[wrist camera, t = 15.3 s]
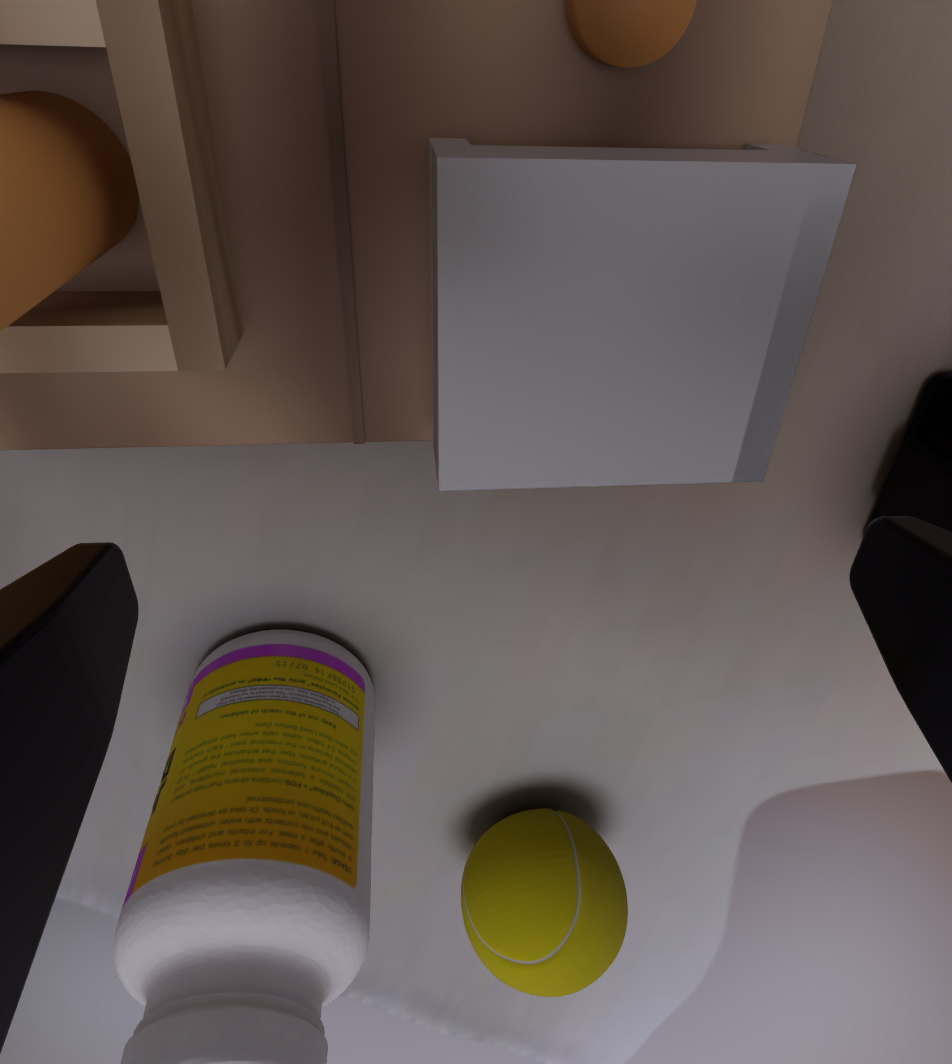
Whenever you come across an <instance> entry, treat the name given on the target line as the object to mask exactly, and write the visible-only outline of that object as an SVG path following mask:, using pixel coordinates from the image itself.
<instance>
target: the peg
mask: <svg viewBox="0 0 952 1064" xmlns="http://www.w3.org/2000/svg"><path fill="white" fill-rule="evenodd" d="M138 202H139V193H138V189H137V185H136V180H135V176H134V171H133V167H132V163H131V161H130V158H129V156H128V154H127V152H126V151H125V149H124V147H123V145H122V144H121V142H120V141H119V139H118V138H117V137H116V135H115V134H114V133H113V132H112V131H111V129H110V128H109V127H108V126H107V125H106V124H105V123H104V122H103V121H102V120H101V119H100V118H99V117H97V116H96V115H95V114H94V113H92V112H91V111H90V110H88V109H87V108H85V107H84V106H82V105H81V104H79V103H77V102H75V101H73V100H71V99H69V98H66V97H64V96H61V95H58V94H55V93H50V92H46V91H36V90H35V91H21V92H14V93H8V94H1V95H0V332H1V331H2V330H3V329H5V328H6V327H7V326H9V325H10V324H11V323H13V322H14V321H15V320H17V319H18V318H19V317H21V316H22V315H23V314H25V313H26V312H27V311H29V310H30V309H31V308H33V307H34V306H35V305H37V304H38V303H39V302H41V301H42V300H43V299H45V298H46V297H47V296H49V295H50V294H51V293H53V292H54V291H55V290H57V289H58V288H59V287H61V286H62V285H63V284H65V283H66V282H67V281H69V280H70V279H71V278H73V277H74V276H75V275H77V274H78V273H79V272H81V271H82V270H83V269H85V268H86V267H87V266H89V265H90V264H91V263H93V262H94V261H95V260H97V259H98V258H99V257H101V256H102V255H103V254H105V253H106V252H107V251H109V250H110V249H112V248H113V247H114V246H115V245H117V244H118V243H119V242H121V241H122V240H123V239H124V237H125V236H126V235H127V234H128V232H129V231H130V229H131V228H132V226H133V223H134V221H135V218H136V215H137V211H138Z"/></svg>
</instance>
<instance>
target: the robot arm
mask: <svg viewBox="0 0 952 1064" xmlns="http://www.w3.org/2000/svg"><path fill="white" fill-rule="evenodd" d="M946 386H948V388H947V389H946V391H945V392H943V393H942V394H940V393H941V391H942V390H943V389H944V388H945V387H946ZM850 585H851V589H852V591H853V594H854V596H855V598H856V600H857V602H858V605H859V607H860V609H861V611H862V613H863V616H864V618H865V620H866V622H867V624H868V627H869V629H870V631H871V633H872V635H873V638H874V640H875V642H876V644H877V646H878V649H879V651H880V653H881V655H882V658H883V660H884V662H885V664H886V666H887V669H888V671H889V673H890V675H891V677H892V679H893V681H894V683H895V685H896V687H897V689H898V691H899V693H900V695H901V697H902V699H903V700H904V702H905V704H906V706H907V708H908V709H909V711H910V713H911V714H912V716H913V718H914V720H915V721H916V723H917V725H918V726H919V728H920V730H921V732H922V733H923V735H924V737H925V738H926V740H927V742H928V744H929V745H930V747H931V749H932V750H933V752H934V754H935V755H936V757H937V759H938V761H939V762H940V764H941V766H942V767H943V769H944V771H945V773H946V774H947V776H948V778H949V779H950V781H951V783H952V372H945V373H940V374H938V375H936V376H934V377H933V378H932V379H931V380H930V381H929V382H928V383H927V385H926V387H925V388H924V391H923V393H922V396H921V398H920V401H919V403H918V406H917V408H916V411H915V413H914V415H913V418H912V420H911V423H910V425H909V428H908V430H907V433H906V435H905V437H904V440H903V442H902V445H901V447H900V450H899V452H898V455H897V457H896V459H895V462H894V464H893V467H892V469H891V472H890V474H889V477H888V479H887V481H886V484H885V486H884V489H883V491H882V494H881V496H880V499H879V501H878V503H877V506H876V508H875V511H874V513H873V516H872V518H871V521H870V523H869V525H868V528H867V530H866V532H865V535H864V537H863V540H862V542H861V544H860V547H859V549H858V552H857V554H856V557H855V559H854V562H853V564H852V567H851V570H850ZM137 621H138V600H137V596H136V593H135V590H134V587H133V584H132V581H131V577H130V574H129V571H128V568H127V565H126V562H125V558H124V555H123V553H122V551H121V549H120V548H119V546H117V545H116V544H114V543H110V542H109V543H80V544H76V545H74V546H72V547H71V548H69V549H67V550H66V551H64V552H62V553H61V554H59V555H57V556H56V557H54V558H52V559H51V560H49V561H47V562H46V563H44V564H42V565H41V566H39V567H37V568H36V569H34V570H32V571H31V572H29V573H27V574H26V575H24V576H22V577H21V578H19V579H17V580H16V581H14V582H12V583H11V584H9V585H7V586H6V587H4V588H2V589H1V590H0V1053H1V1050H2V1047H3V1045H4V1042H5V1039H6V1036H7V1033H8V1030H9V1028H10V1024H11V1022H12V1019H13V1016H14V1013H15V1011H16V1008H17V1005H18V1002H19V999H20V996H21V993H22V990H23V988H24V985H25V982H26V979H27V976H28V974H29V971H30V968H31V965H32V962H33V959H34V957H35V953H36V951H37V948H38V945H39V942H40V940H41V937H42V934H43V931H44V928H45V925H46V922H47V920H48V917H49V914H50V911H51V908H52V906H53V903H54V900H55V897H56V894H57V891H58V889H59V886H60V883H61V880H62V877H63V874H64V872H65V869H66V866H67V863H68V860H69V857H70V855H71V852H72V849H73V846H74V843H75V840H76V838H77V835H78V832H79V829H80V826H81V823H82V821H83V818H84V815H85V812H86V809H87V806H88V804H89V801H90V798H91V795H92V792H93V789H94V787H95V784H96V781H97V778H98V775H99V772H100V770H101V767H102V764H103V761H104V758H105V755H106V752H107V749H108V746H109V743H110V740H111V737H112V733H113V729H114V725H115V721H116V717H117V712H118V708H119V703H120V699H121V694H122V690H123V685H124V680H125V676H126V671H127V667H128V662H129V658H130V653H131V648H132V644H133V639H134V635H135V630H136V626H137Z"/></svg>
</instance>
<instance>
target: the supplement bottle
mask: <svg viewBox="0 0 952 1064" xmlns="http://www.w3.org/2000/svg"><path fill="white" fill-rule="evenodd" d="M373 759H374V690H373V685H372V682H371V679H370V677H369V675H368V673H367V671H366V670H365V668H364V667H363V665H362V664H361V663H360V661H359V660H358V659H357V658H356V657H355V656H354V655H353V654H351V653H350V652H349V651H348V650H346V649H345V648H344V647H342V646H340V645H339V644H337V643H335V642H333V641H331V640H329V639H327V638H324V637H321V636H318V635H315V634H312V633H307V632H302V631H294V630H267V631H259V632H254V633H250V634H247V635H243V636H240V637H238V638H235V639H233V640H231V641H229V642H227V643H225V644H223V645H221V646H220V647H218V648H217V649H215V650H214V651H213V652H212V653H210V654H209V655H208V656H207V657H206V658H205V660H204V661H203V662H202V663H201V665H200V666H199V667H198V669H197V670H196V672H195V674H194V676H193V679H192V682H191V685H190V688H189V691H188V694H187V696H186V700H185V703H184V706H183V710H182V713H181V716H180V719H179V722H178V726H177V730H176V733H175V736H174V739H173V743H172V746H171V749H170V753H169V756H168V759H167V763H166V766H165V769H164V773H163V776H162V780H161V783H160V786H159V789H158V792H157V795H156V799H155V802H154V805H153V808H152V813H151V816H150V819H149V822H148V825H147V829H146V832H145V835H144V839H143V842H142V845H141V849H140V852H139V856H138V859H137V862H136V866H135V869H134V872H133V875H132V878H131V881H130V885H129V888H128V892H127V895H126V898H125V901H124V904H123V907H122V911H121V914H120V917H119V921H118V924H117V928H116V932H115V937H114V959H115V965H116V968H117V972H118V975H119V977H120V979H121V981H122V983H123V984H124V986H125V987H126V989H127V990H128V992H129V993H130V994H131V995H132V996H133V997H134V998H135V999H136V1000H137V1001H139V1002H140V1003H141V1004H142V1005H144V1006H145V1012H144V1017H143V1019H142V1020H141V1021H140V1023H139V1024H138V1026H137V1027H136V1029H135V1031H134V1034H133V1036H132V1037H131V1038H130V1039H129V1041H128V1042H127V1044H126V1045H125V1048H124V1052H123V1056H122V1060H121V1064H326V1062H327V1053H328V1052H327V1051H328V1044H327V1040H326V1038H325V1036H324V1026H323V1023H322V1021H321V1020H320V1017H321V1008H322V1007H324V1006H325V1005H327V1004H329V1003H330V1002H331V1001H333V1000H334V999H335V998H337V997H338V996H339V995H340V994H341V993H342V992H343V991H344V990H345V989H346V988H347V987H348V986H349V985H350V983H351V982H352V981H353V979H354V978H355V977H356V975H357V973H358V971H359V970H360V968H361V966H362V964H363V961H364V959H365V956H366V953H367V948H368V943H369V925H370V891H371V838H372V801H373Z"/></svg>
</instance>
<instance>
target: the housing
mask: <svg viewBox="0 0 952 1064" xmlns="http://www.w3.org/2000/svg"><path fill="white" fill-rule="evenodd" d="M856 165H857V164H855V163H851V162H847V161H843V160H839V159H835V158H831V157H828V156H824V155H820V154H816V153H812V152H808V151H805V150H801V149H797V148H793V147H789V146H785V145H781V144H747V147H746V150H725V149H669V148H613V147H556V146H500V145H471V144H470V143H469V142H468V140H467V139H466V138H429V168H430V268H431V368H432V434H433V443H434V452H435V461H436V470H437V479H438V488H439V491H453V490H487V489H520V488H554V487H588V486H621V485H655V484H688V483H722V482H755V481H763V480H764V477H765V473H766V470H767V466H768V463H769V460H770V456H771V453H772V449H773V446H774V443H775V439H776V436H777V432H778V429H779V426H780V422H781V419H782V415H783V412H784V409H785V405H786V402H787V399H788V395H789V392H790V388H791V385H792V382H793V378H794V375H795V371H796V368H797V365H798V361H799V358H800V354H801V351H802V348H803V344H804V341H805V337H806V334H807V331H808V327H809V324H810V321H811V317H812V314H813V310H814V307H815V304H816V300H817V297H818V293H819V290H820V287H821V283H822V280H823V276H824V273H825V270H826V266H827V263H828V259H829V256H830V253H831V249H832V246H833V243H834V239H835V236H836V232H837V229H838V226H839V222H840V219H841V215H842V212H843V209H844V205H845V202H846V198H847V195H848V192H849V188H850V185H851V181H852V178H853V175H854V171H855V168H856Z"/></svg>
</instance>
